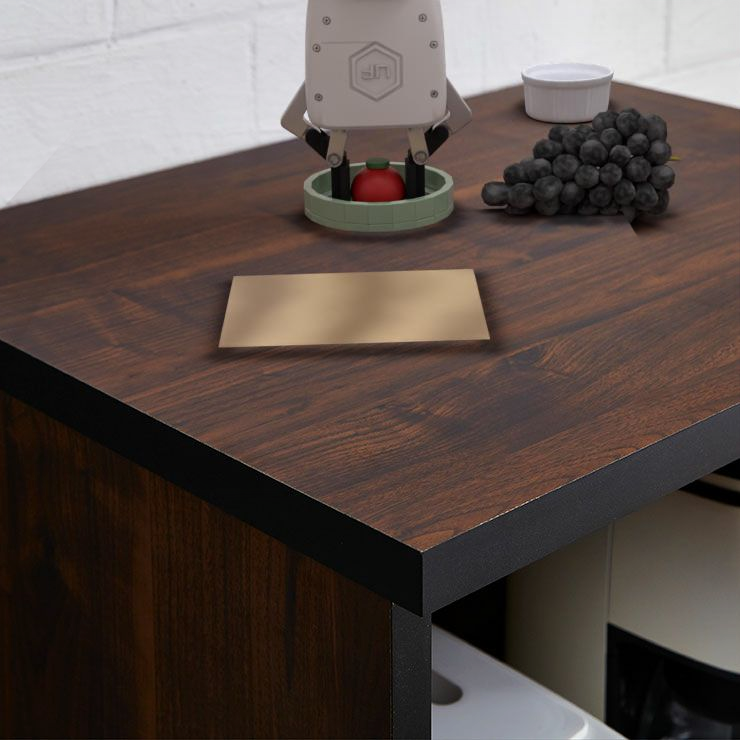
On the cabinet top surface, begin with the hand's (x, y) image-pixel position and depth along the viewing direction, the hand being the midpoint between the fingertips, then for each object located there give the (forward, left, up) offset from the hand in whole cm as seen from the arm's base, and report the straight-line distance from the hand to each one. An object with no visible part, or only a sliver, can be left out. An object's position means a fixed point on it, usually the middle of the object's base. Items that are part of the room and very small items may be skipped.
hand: (378, 210), depth 105 cm
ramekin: (+19, +33, -2) cm, 38 cm away
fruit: (+15, 0, -2) cm, 15 cm away
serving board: (-2, -20, -1) cm, 20 cm away
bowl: (0, 0, -1) cm, 1 cm away
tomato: (0, 0, -1) cm, 1 cm away
